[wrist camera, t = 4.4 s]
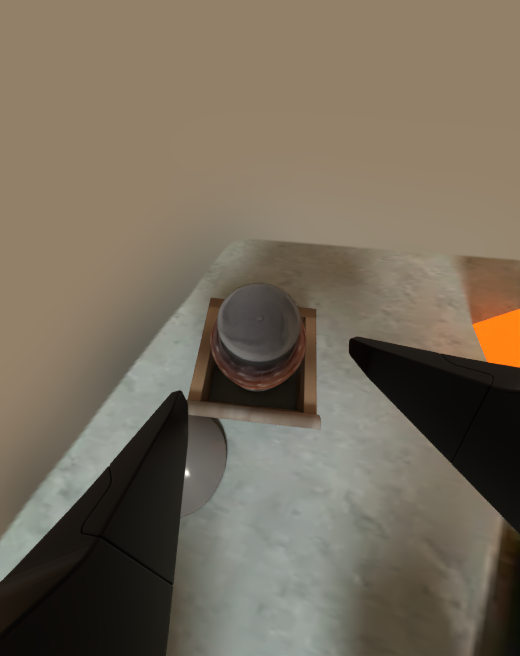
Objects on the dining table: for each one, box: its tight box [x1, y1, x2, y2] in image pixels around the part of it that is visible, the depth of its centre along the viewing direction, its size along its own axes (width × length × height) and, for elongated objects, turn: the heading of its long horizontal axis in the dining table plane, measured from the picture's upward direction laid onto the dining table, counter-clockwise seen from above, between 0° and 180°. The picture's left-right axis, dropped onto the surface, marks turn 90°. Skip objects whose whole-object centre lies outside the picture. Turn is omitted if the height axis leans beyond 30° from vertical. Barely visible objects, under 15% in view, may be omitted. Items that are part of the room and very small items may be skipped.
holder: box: [187, 298, 321, 429], centre depth 17 cm, size 10×10×4 cm
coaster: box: [180, 415, 227, 517], centre depth 16 cm, size 8×8×1 cm
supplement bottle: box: [210, 283, 306, 392], centre depth 14 cm, size 6×6×11 cm
